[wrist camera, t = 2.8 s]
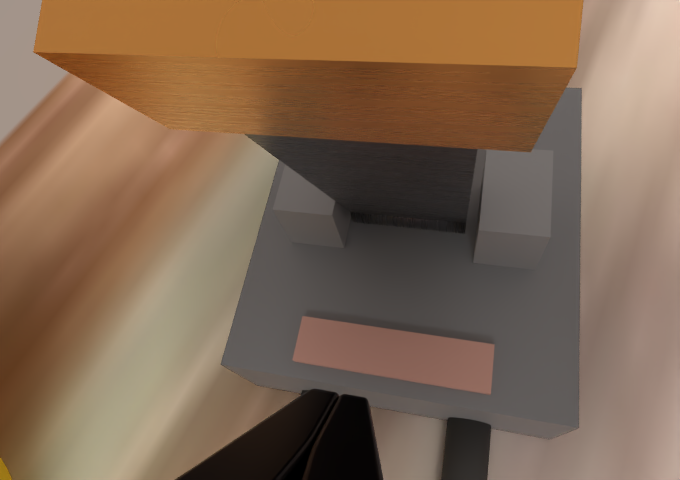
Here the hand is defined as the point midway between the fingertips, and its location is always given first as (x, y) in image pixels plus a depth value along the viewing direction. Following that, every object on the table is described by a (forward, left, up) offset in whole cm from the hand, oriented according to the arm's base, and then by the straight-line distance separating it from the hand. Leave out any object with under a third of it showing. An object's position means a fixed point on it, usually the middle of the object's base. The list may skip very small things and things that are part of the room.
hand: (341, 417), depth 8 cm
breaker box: (+4, +5, -9) cm, 11 cm away
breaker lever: (+4, +5, -4) cm, 8 cm away
